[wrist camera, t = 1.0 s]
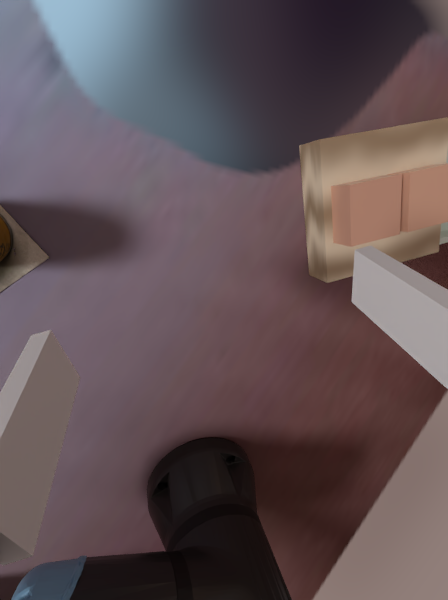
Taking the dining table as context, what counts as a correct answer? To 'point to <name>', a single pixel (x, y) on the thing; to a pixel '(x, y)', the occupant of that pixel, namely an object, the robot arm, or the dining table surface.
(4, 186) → the dining table surface
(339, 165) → the board
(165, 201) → the dining table surface
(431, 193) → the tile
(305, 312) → the dining table surface
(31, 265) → the condiment
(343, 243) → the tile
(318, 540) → the dining table surface
